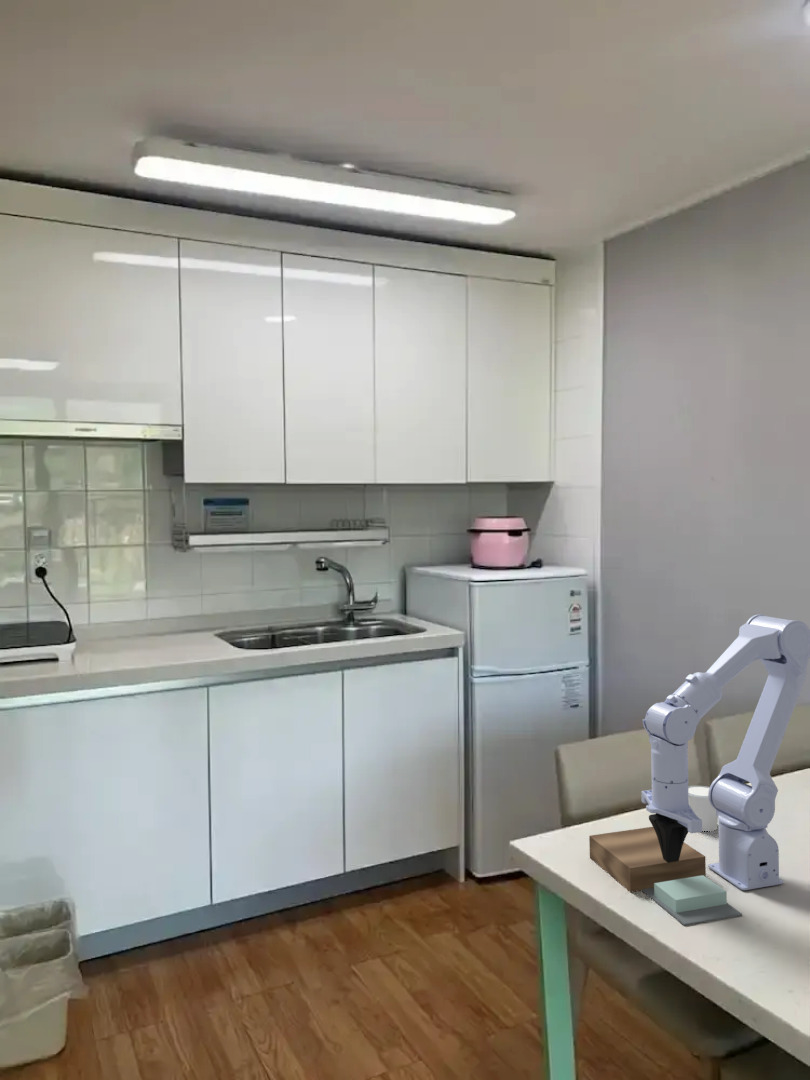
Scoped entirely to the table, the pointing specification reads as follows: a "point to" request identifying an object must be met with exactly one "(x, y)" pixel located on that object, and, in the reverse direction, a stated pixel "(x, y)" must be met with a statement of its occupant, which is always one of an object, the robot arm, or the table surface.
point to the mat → (697, 911)
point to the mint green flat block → (690, 893)
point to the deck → (642, 859)
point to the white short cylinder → (703, 807)
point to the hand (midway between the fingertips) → (671, 860)
